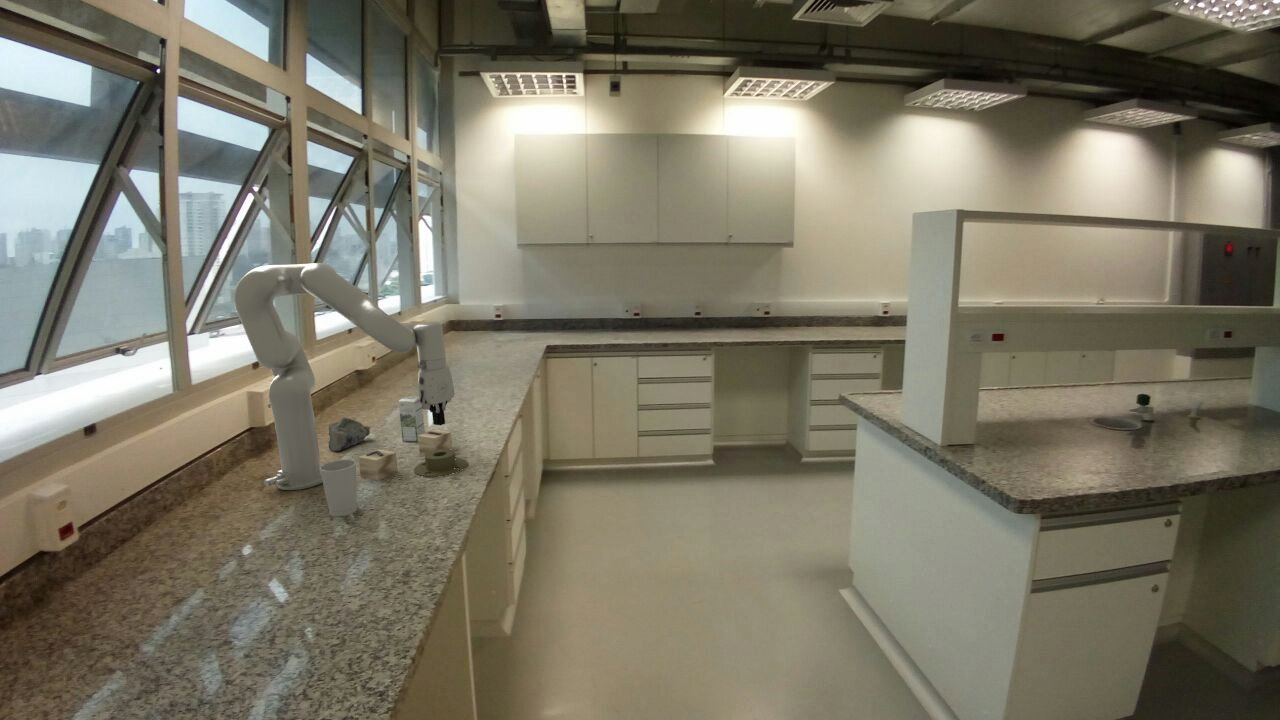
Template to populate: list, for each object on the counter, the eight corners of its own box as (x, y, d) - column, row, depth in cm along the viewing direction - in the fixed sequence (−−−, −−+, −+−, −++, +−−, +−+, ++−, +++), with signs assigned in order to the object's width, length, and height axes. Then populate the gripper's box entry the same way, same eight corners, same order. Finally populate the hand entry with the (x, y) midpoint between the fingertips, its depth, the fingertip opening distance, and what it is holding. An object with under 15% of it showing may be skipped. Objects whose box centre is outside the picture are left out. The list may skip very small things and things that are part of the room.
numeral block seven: (378, 480, 165) (375, 459, 164) (360, 476, 168) (358, 455, 167) (397, 471, 172) (395, 451, 170) (380, 468, 175) (378, 448, 173)
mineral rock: (370, 438, 203) (367, 410, 201) (373, 447, 193) (370, 417, 192) (328, 444, 197) (325, 415, 195) (329, 454, 187) (325, 424, 186)
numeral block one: (436, 456, 183) (434, 437, 182) (419, 453, 186) (417, 434, 185) (452, 449, 190) (450, 431, 188) (436, 446, 193) (434, 428, 191)
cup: (366, 503, 150) (361, 458, 148) (352, 517, 142) (347, 470, 140) (334, 504, 150) (329, 459, 148) (319, 518, 142) (313, 471, 140)
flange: (476, 448, 178) (435, 443, 183) (444, 465, 164) (401, 460, 169) (477, 462, 178) (437, 457, 183) (445, 481, 165) (402, 475, 170)
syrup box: (426, 436, 203) (422, 396, 200) (418, 442, 197) (414, 400, 194) (410, 436, 203) (406, 395, 201) (401, 442, 198) (397, 400, 195)
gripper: (422, 370, 164) (429, 433, 168) (460, 360, 177) (466, 418, 181) (403, 368, 167) (410, 430, 171) (441, 358, 180) (448, 416, 184)
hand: (439, 424), depth 176 cm, fingers closed
